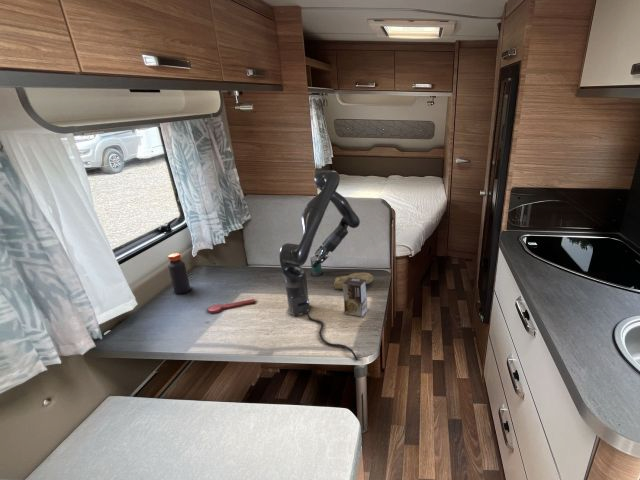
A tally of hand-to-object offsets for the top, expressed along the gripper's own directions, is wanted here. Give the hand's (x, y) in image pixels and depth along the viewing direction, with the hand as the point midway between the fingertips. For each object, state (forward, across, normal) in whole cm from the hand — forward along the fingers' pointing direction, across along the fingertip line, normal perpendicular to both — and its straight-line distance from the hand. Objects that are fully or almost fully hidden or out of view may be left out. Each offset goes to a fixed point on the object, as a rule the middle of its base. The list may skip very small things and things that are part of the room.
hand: (312, 264), depth 189 cm
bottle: (+50, -8, -41) cm, 65 cm away
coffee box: (-4, +46, +13) cm, 48 cm away
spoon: (+34, +18, -25) cm, 45 cm away
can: (+3, 0, +6) cm, 7 cm away
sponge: (-8, +22, +17) cm, 29 cm away
